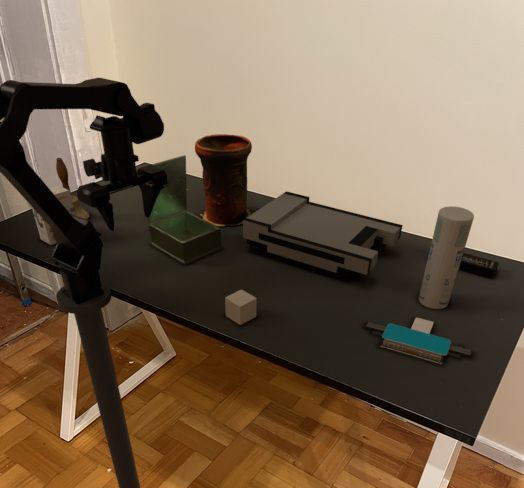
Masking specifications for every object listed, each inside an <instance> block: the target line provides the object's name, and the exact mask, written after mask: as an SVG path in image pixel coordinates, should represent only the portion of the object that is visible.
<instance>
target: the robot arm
mask: <svg viewBox="0 0 524 488" xmlns="http://www.w3.org/2000/svg"><path fill="white" fill-rule="evenodd" d="M34 110H92V111H95V112H100V113H104V114H108V115H110V116H108V117H105V116H102V115H97V114H96V116H95V118H94V120H93V121H92V122H91V123H90V124H89V129H90V130H93V131H96V132H99V133H100V137H101V142H102V148H103V153H101V154H100V161H97V162H96V160H95V158H89V159H86V160H83V161H82V164H83V170H84V173H85V176H86V177H88V178H89V177H94V179H95V180H99V179H100V178H101V180H102V181H103V182H108V183H107V184H104V185H101V184H99V183H98V182H95V181H92V182H89V183H85V184H82V185H79V186H78V187H77V190H76V197H77V198H78V200H79V202H80V203H83V204H85V205H87V206H89V207H91V208H94V209H96V211H98V213H99V215H100V216H101V218H102V219H103V221H104V223H105V225H106V226H107V227H108V229H109V231H111V232H114V231H115V217H114V216H115V215H114V206H113V203H111V202H110V200H111V195H113V194H116V193H119V192H122V191H125V190H128V189H131V188H134V187H138V188H139V190H140V192H141V199H142V207H143V213H144V217H145V218H147V219H148V218H149V217H150V215H151V212H152V210H153V207H154V204H155V202H156V199H157V197H158V195H159V193H160V191H161V190H162V189H164V186H163V185H165V184H168V175H167V173H166V171H165V170H163V169H161V168H158V167H156V166H153V165H151V164H148V165H145V167H144V166H142V167H139V168H138V169H137V165H136V163H138V162H139V161H140V159H139V155H137V154H135V150H134V145H141V144H144V143H147V142H150V141H153V140H155V139H159V138H161V137H162V136H163V135H164V131H165V123H164V122H163V119H162V117H161V114H159V112H157V110H156V107H155V104H154V103H151V102H144V103H142V104H139V103H138V102H137V101H136V99H135V98H134V97H133V95H132V92H131V90H130V88H129V86H128V84H127V83H125V82H122V81H117V80H113V79H109V78H104V77H94V78H89V79H84V80H83V81H81V82H78V83H59V82H58V83H56V82H29V81H28V82H27V81H17V80H13V79H10V80H6V81H4V82H3V83H1V85H0V174H1V175H2V176H3V177H4V178H5V179H6V180H7V181H8V182H9V183H10V184H11V186H13V188H14V189H15V190H16V191H17V192H18V194H20V196H22V198H23V199H24V200H25V201H26V202H27V203H28V204H29V205H30V207H31V208H32V207H33V208H34V209H35V210H36V212H37V213H38V214H39V215H40V216H41V217H42V218H43V219H44V220H45V221H46V223H47V224H48V225H49V226H50V227H51V229H52V232H53V237H54V239H55V241H56V242H57V243H56V244H55V247H54V249H53V250H52V253H51V256H50V261H51V262H52V263H53V265H54V266H55V267H59V268H60V269H59V273H60V277H61V280H62V284H63V286H64V288H65V289H64V290H62V293H63V294H64V295H66V296H67V297H68V298H69V299H71V300H72V301H73V302H74V303H75V304H80V303H83V302H85V301H87V300H90V299H92V298H95V297H97V296H99V295H102V294H104V290H103V289H101V288H100V287H101V286H102V285H101V281H102V280H101V275H100V271H99V270H100V269H101V263H102V254H103V246H104V242H103V239H102V238H101V236H103V234H102V233H101V232H98V230H97V229H96V228H95V226H94V224H93V223H92V221H91V220H88V219H87V220H86V219H83V218H81V217H78V216H76V215H73V214H70V213H69V212H68V210H67V209H66V208H65V207H64V206H63V204H62V203H61V202H60V201H59V200H58V198H57V197H56V196H55V195H54V194H53V192H52V191H51V190H50V188H49V186H48V185H47V184H46V183H45V181H44V180H43V179H42V178H41V176H39V174H38V173H37V171H35V169H34V168H33V167H32V166H31V165H30V164H29V162H28V160H27V157H26V153H25V148H24V146H23V144H22V142H21V139H22V137H23V136H24V135H25V133H26V132H27V129H28V124H29V120H30V117H31V114H32V113H33V112H34Z"/></svg>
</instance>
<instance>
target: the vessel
mask: <svg viewBox="0 0 524 488" xmlns="http://www.w3.org/2000/svg"><path fill="white" fill-rule="evenodd" d="M252 149H253V145H252V141H251V140H250V139H249V138H248V137H246V136H243V135H238V134H237V135H236V134H226V133H224V134H221V133H219V134H210V135H208V134H207V135H205V136H202V137H201V138H198V139H197V140H196V141H195V144H194V152H195V154H196V156H197V157H198V158H199V160H200V164H201V167H202V175H201V178H202V184H203V193H204V201H205V210H204V211H203V213H200V214H199V215H200V217H202V219H203V220H205V221H207V222H209V223H211V224H213V225H215V226H217V227H225V226H228V227H229V226H230V227H234V226H240V225H243V220H244V219H246V218H247V217H249V216H250V215H252V213H251V212H250V209H249V208H247V207H248V206H247V205H248V203H247V202H248V200H247V199H248V159H249V156H250V154H251V153H252Z"/></svg>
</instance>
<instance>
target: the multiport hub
mask: <svg viewBox="0 0 524 488" xmlns="http://www.w3.org/2000/svg"><path fill="white" fill-rule="evenodd" d="M499 264H500V262H498V261H495V260H491V259H488V258H485V257H480V256H477V255H472V254H469V253H466V252H464V253H463V256H462V259H461V263H460V266H459V269H458V271H462V272H465V273H469V274H473V275H477V276H480V277H483V278H486V279H491V280H492V279H493V278H494V277H495V275H496V273H497V271H498V268H499Z"/></svg>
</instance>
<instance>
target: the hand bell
mask: <svg viewBox="0 0 524 488" xmlns="http://www.w3.org/2000/svg"><path fill="white" fill-rule="evenodd" d="M55 160H56V161H55V162H56V163H55V171H56V173H57V177H58V179H59V180H60V182H61V185H62V187H63V188H65V189H68V190H70V193H71V198H72V202H73V207H74V211H75V215H76V216H78V217H81V218H83V219H86V220H88V219H89V218H90V213H89V212H88V211H86V210H85V209H84V208H83V207H82V205H81V202H80V201H79V200H78V196H77V195H73V194H72V191H71V188H70V184H69V171H68V168H67V165H66V163H65V162H64V160H63V158H62V157H57V158H56V159H55Z"/></svg>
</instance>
